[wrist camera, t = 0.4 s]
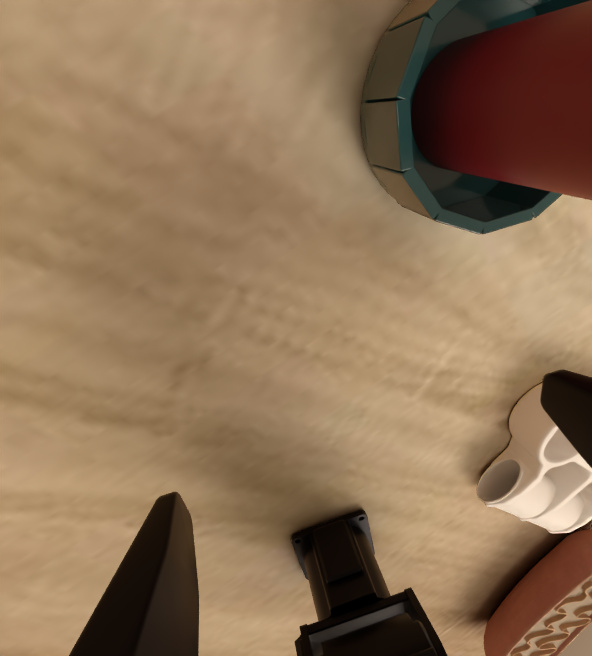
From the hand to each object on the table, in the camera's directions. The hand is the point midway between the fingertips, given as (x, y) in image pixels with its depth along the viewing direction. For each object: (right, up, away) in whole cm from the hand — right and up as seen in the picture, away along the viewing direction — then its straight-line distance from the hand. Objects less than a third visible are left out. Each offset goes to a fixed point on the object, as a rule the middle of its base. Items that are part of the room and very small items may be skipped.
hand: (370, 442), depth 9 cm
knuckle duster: (+22, -8, +26) cm, 35 cm away
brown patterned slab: (+26, -26, +37) cm, 52 cm away
